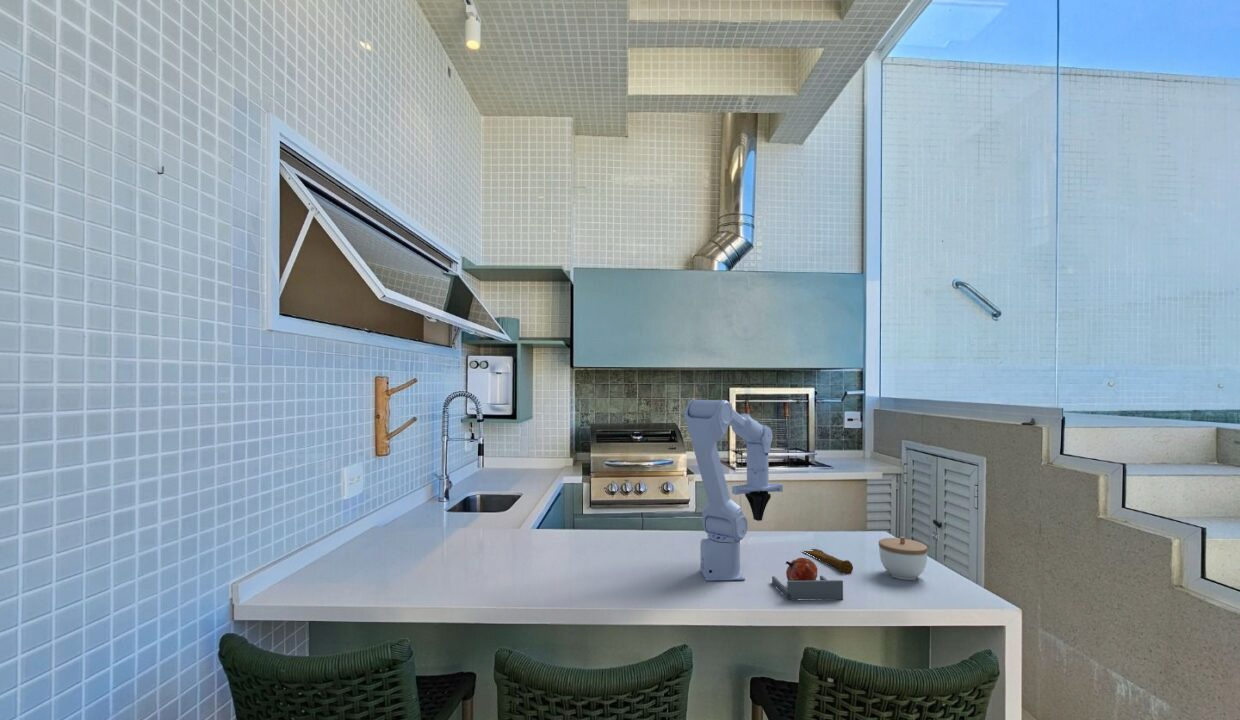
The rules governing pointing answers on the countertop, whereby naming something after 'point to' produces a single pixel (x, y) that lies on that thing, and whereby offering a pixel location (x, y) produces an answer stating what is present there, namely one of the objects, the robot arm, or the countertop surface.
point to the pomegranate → (801, 570)
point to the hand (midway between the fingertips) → (757, 519)
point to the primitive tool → (832, 561)
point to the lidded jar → (903, 557)
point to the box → (811, 589)
